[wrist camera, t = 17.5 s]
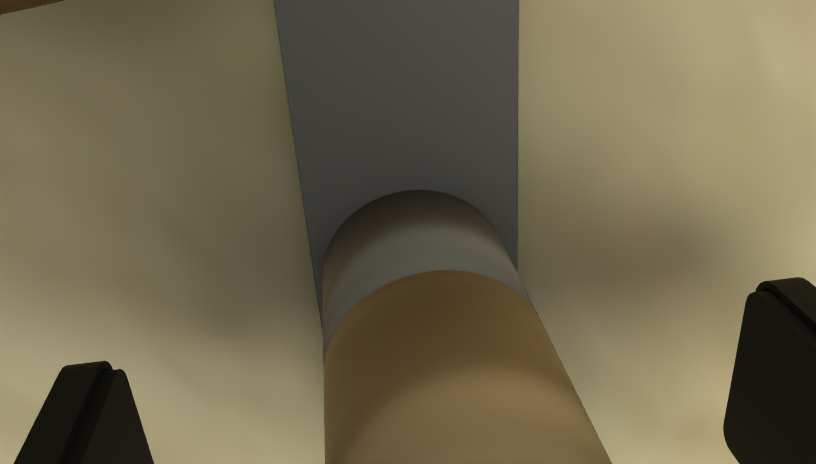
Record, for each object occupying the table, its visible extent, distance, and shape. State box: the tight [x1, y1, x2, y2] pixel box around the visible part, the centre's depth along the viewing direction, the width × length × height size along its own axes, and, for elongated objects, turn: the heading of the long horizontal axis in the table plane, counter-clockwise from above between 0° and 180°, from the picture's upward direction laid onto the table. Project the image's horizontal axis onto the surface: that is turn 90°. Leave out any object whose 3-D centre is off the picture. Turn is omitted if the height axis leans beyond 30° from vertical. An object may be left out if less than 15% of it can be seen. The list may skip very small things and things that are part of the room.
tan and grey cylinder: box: [322, 190, 612, 464], centre depth 11 cm, size 4×4×8 cm
